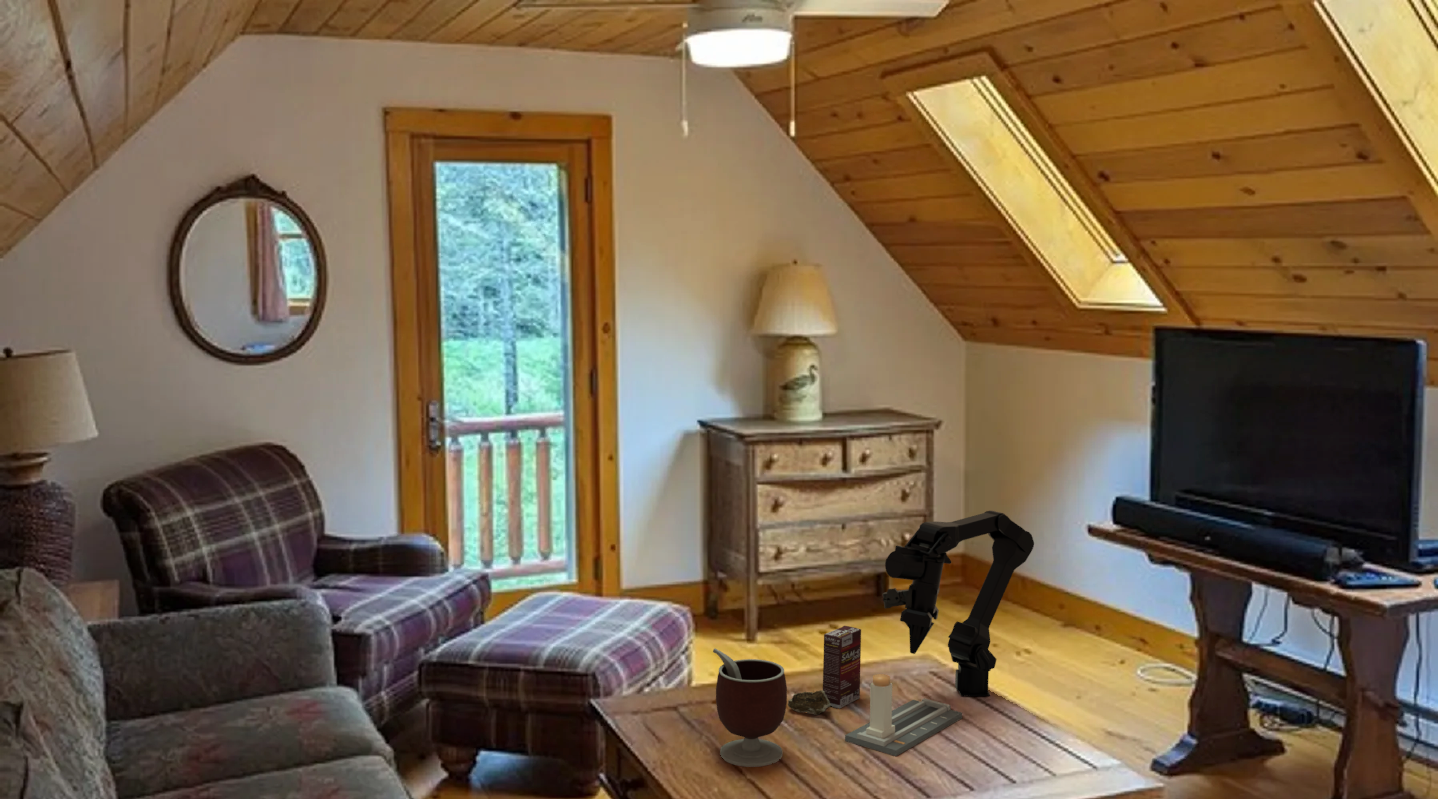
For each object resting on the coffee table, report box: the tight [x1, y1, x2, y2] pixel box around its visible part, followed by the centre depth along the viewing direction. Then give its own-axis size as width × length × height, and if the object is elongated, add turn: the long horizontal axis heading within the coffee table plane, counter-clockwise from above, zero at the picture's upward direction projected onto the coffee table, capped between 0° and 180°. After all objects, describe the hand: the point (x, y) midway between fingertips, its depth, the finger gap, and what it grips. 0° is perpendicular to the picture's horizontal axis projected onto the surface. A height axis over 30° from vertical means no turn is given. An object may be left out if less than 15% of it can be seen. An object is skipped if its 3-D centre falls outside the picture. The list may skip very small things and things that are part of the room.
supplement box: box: [822, 625, 862, 709], centre depth 272 cm, size 9×5×16 cm, turn 142°
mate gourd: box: [712, 648, 788, 768], centre depth 244 cm, size 16×14×20 cm
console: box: [844, 698, 963, 757], centre depth 257 cm, size 26×12×2 cm, turn 140°
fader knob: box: [866, 673, 895, 739], centre depth 249 cm, size 5×4×12 cm
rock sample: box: [787, 689, 831, 716], centre depth 268 cm, size 10×8×9 cm
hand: (912, 653), depth 267 cm, fingers closed
